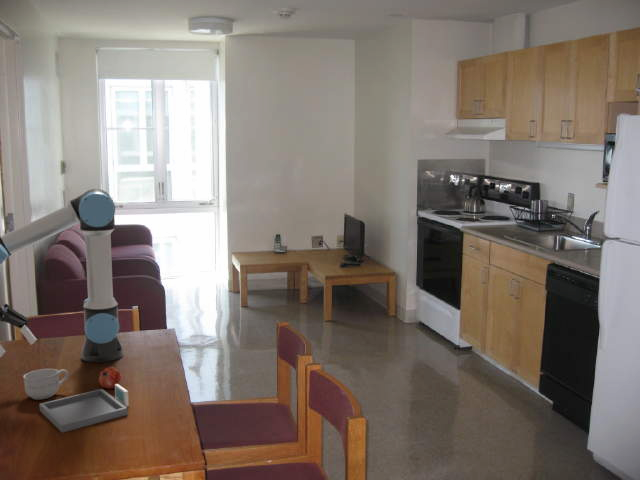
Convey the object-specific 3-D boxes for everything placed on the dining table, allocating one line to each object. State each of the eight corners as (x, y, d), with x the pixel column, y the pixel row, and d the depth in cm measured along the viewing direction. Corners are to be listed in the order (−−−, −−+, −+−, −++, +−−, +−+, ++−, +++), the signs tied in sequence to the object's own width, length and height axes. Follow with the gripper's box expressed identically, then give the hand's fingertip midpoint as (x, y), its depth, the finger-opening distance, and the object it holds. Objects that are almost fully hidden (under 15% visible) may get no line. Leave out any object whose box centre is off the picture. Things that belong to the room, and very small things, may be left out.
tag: (118, 398, 225) (117, 383, 224) (128, 406, 219) (128, 391, 218) (114, 399, 224) (113, 384, 223) (124, 407, 218) (124, 392, 217)
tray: (102, 394, 228) (101, 388, 227) (127, 414, 212) (127, 407, 212) (39, 410, 215) (39, 403, 215) (62, 432, 200) (61, 425, 199)
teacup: (26, 405, 219) (24, 381, 218) (23, 393, 229) (21, 370, 228) (72, 397, 226) (71, 374, 224) (67, 386, 235) (66, 363, 234)
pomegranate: (107, 388, 239) (88, 379, 231) (117, 369, 241) (99, 359, 233) (121, 395, 235) (102, 386, 227) (132, 376, 237) (113, 366, 229)
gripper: (4, 297, 244) (40, 343, 241) (-57, 315, 221) (-18, 366, 218) (14, 284, 241) (51, 330, 239) (-46, 301, 218) (-6, 352, 216)
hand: (18, 348), depth 229 cm, fingers open, 13 cm apart
